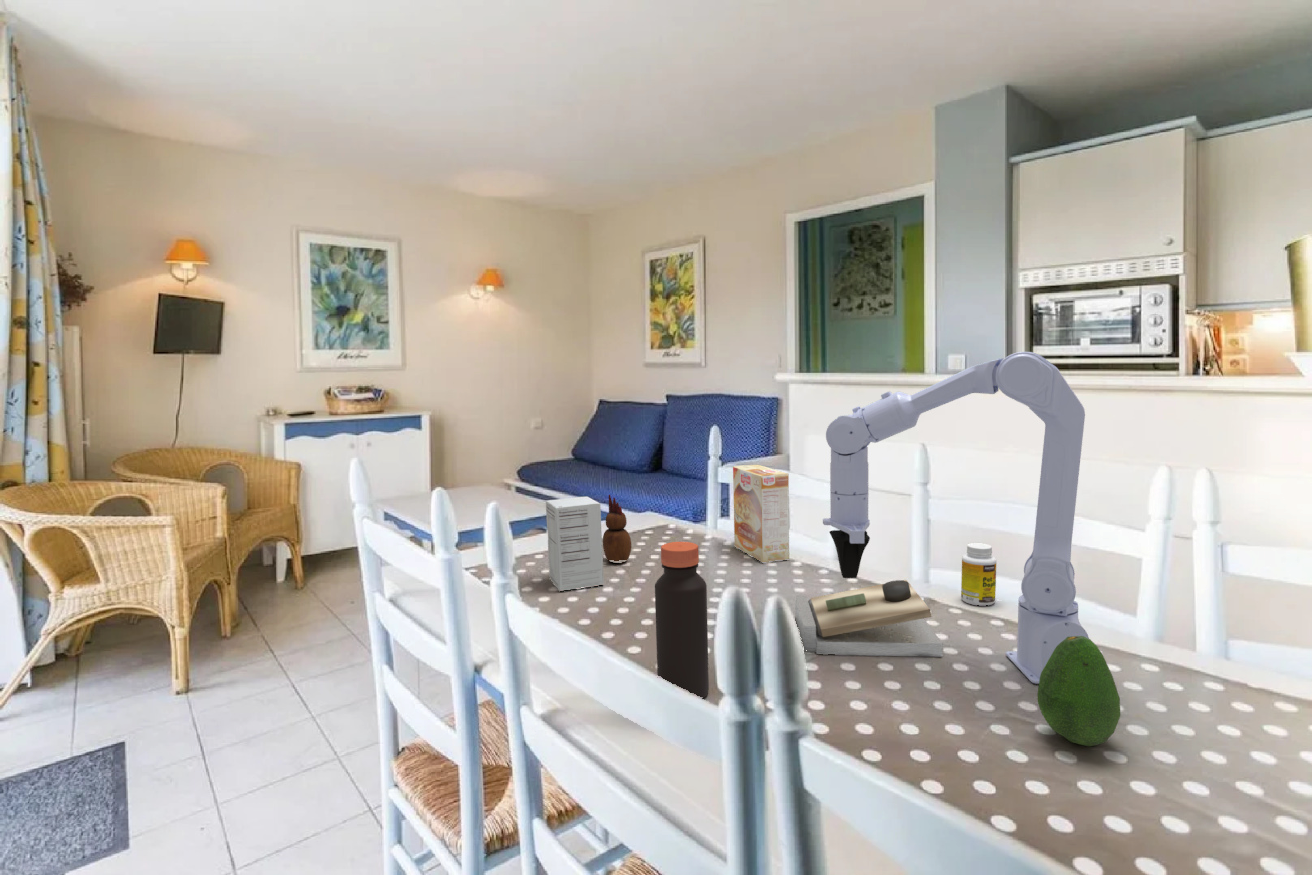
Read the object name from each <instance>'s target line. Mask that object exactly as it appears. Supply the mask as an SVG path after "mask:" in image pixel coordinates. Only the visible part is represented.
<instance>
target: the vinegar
mask: <svg viewBox="0 0 1312 875" xmlns="http://www.w3.org/2000/svg"><path fill="white" fill-rule="evenodd" d="M699 552H700V551H699V545H698V544H696V543H694V542H690V541H672V542H667V543H663V544H662V545H661V546H660V561H661V567H662V569H663V574H662V575H661V576H660V577H658V579H657V580H656V582H655V584H654V601H655V602H654V604H655V609H654V610H655V637H656V639H655V640H656V669H657V671H656V673H657V675H658V676H661V677H662V678H663V679H665V680H667V681H669V682H671V683H672V684H676V685H677V686H679V687H681V688H683V689H686V690H688V691H689V692H690V693H694V694H696V695H697V696H700V697H703V699H705V698H706V697H707V696H708V694H709V689H710V687H709V686H710V684H709V681H710V679H709V676H710V675H709V643H708V642H709V640H708V639H709V638H708V600H707V599H708V597H707V596H708V595H707V594H708V590H707V588H708V587H707V582H706V581H705V579H704V578H703V577H702V576H701V574H699V573H698V572H697V569H698V568H699V562H700V560H699V559H700V557H699V555H700V554H699Z"/></svg>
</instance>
